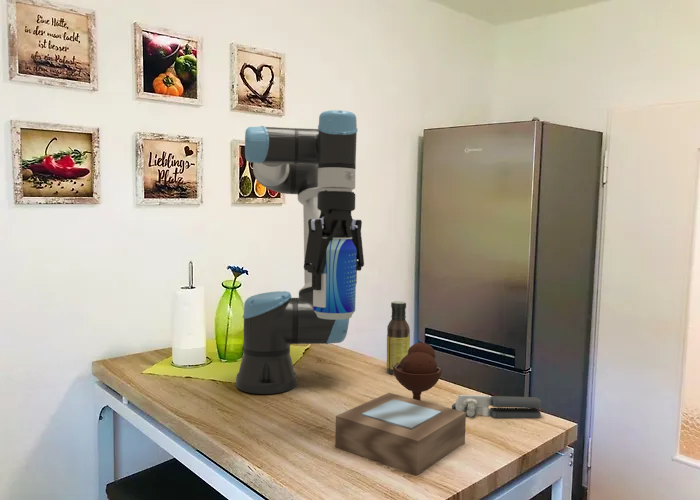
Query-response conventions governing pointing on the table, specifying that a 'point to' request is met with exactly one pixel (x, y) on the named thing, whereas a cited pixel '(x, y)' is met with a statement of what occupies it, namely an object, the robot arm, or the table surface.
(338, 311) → the beer can
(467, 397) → the can opener
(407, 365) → the ice cream bowl
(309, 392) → the table surface
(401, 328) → the sauce bottle
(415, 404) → the walnut plinth
